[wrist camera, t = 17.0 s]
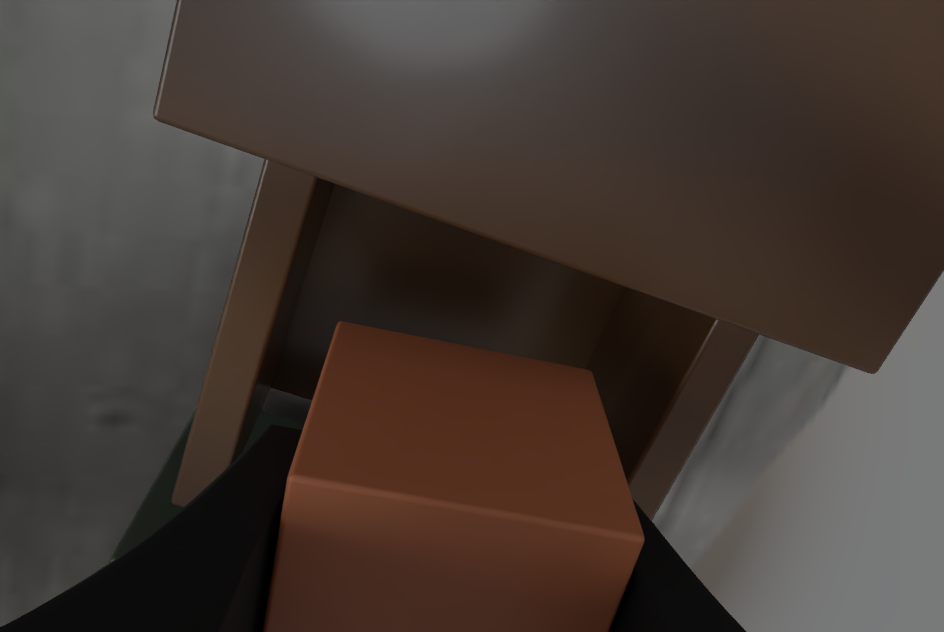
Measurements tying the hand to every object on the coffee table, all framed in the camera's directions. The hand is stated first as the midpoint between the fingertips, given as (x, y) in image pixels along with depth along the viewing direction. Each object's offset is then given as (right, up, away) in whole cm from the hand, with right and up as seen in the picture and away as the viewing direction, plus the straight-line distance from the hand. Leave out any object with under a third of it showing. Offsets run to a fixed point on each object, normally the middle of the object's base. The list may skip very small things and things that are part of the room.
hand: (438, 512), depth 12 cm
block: (0, +1, +1) cm, 1 cm away
